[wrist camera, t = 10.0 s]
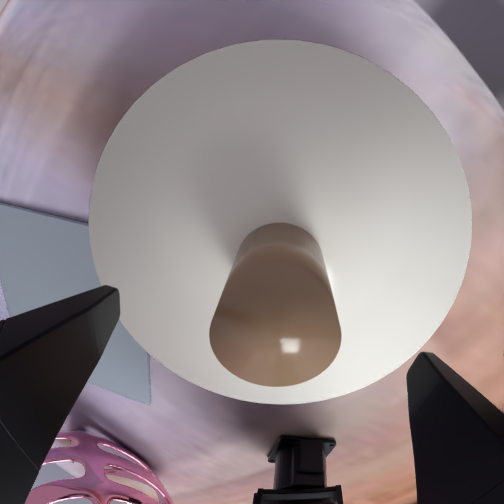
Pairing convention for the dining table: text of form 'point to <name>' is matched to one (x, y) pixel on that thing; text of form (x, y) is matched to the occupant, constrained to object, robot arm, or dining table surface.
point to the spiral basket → (97, 474)
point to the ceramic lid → (280, 221)
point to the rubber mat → (64, 288)
